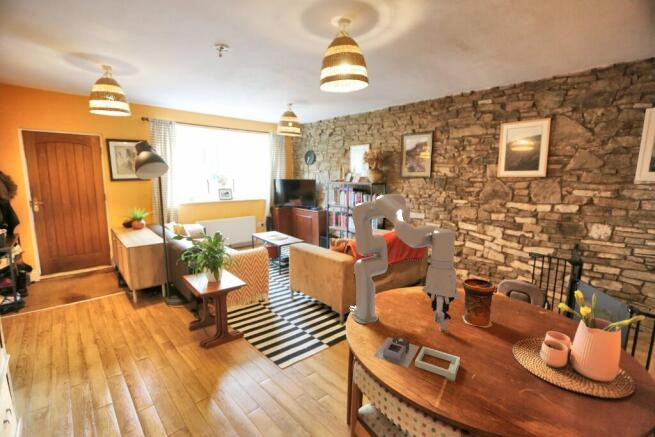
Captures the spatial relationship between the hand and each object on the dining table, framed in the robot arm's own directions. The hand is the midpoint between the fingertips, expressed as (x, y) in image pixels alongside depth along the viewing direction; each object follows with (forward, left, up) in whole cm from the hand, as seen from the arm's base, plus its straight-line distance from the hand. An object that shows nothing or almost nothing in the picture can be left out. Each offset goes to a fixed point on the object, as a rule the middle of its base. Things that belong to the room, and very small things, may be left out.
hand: (439, 310), depth 111 cm
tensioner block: (-16, 0, -23) cm, 28 cm away
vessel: (+8, +46, -23) cm, 52 cm away
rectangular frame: (0, 0, -23) cm, 23 cm away
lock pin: (0, 0, -4) cm, 4 cm away
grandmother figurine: (-4, +28, -23) cm, 36 cm away
